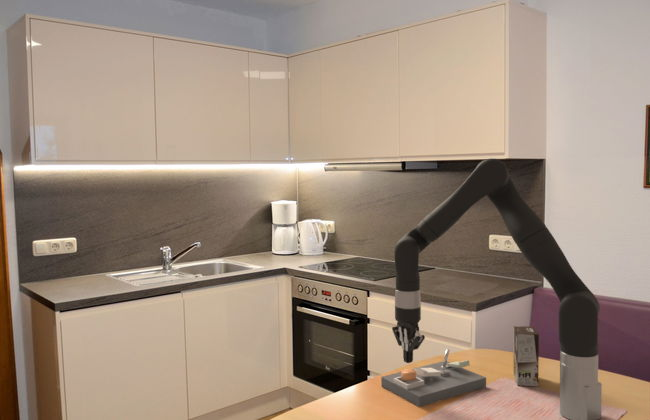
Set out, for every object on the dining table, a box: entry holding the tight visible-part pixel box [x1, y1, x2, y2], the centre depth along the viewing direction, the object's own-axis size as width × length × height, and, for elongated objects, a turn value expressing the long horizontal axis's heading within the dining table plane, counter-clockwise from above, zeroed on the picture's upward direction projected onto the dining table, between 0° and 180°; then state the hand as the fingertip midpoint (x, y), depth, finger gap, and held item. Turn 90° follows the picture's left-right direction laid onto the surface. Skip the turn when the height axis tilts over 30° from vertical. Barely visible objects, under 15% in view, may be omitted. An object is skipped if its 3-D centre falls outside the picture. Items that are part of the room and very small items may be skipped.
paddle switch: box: [448, 359, 470, 368], centre depth 175 cm, size 6×4×2 cm, turn 30°
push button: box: [400, 368, 416, 381], centre depth 164 cm, size 4×4×2 cm
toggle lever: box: [441, 348, 450, 371], centre depth 172 cm, size 1×1×7 cm
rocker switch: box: [413, 367, 441, 377], centre depth 168 cm, size 4×7×1 cm, turn 120°
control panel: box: [380, 360, 487, 408], centre depth 169 cm, size 18×26×4 cm
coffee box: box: [512, 325, 540, 387], centre depth 172 cm, size 9×6×16 cm
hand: (408, 361), depth 164 cm, fingers closed
